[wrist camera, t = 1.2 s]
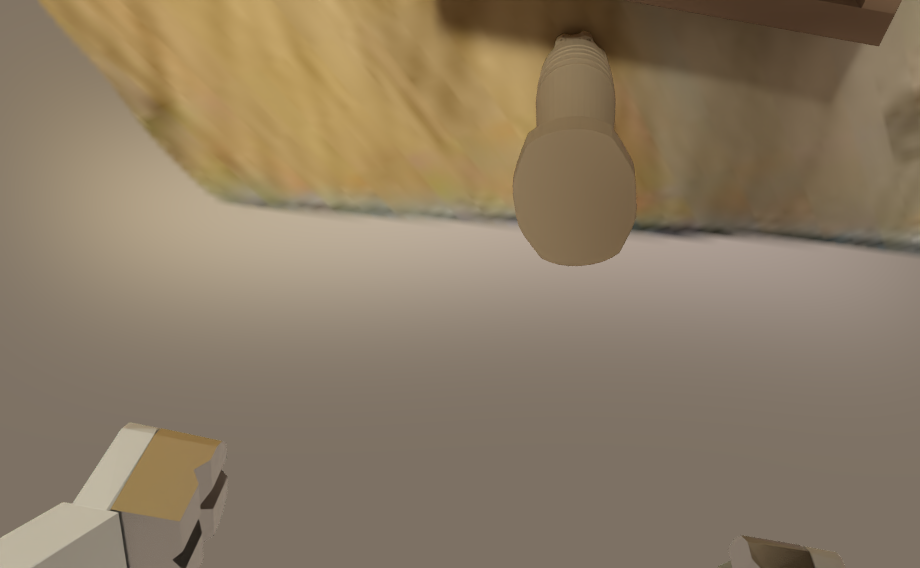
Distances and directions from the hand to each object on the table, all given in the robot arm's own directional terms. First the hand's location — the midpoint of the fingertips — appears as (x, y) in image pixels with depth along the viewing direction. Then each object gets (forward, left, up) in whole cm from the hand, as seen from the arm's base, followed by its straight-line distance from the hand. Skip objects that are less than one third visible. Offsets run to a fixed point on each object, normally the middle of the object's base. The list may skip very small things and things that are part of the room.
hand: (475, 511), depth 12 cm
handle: (+6, +3, -35) cm, 35 cm away
